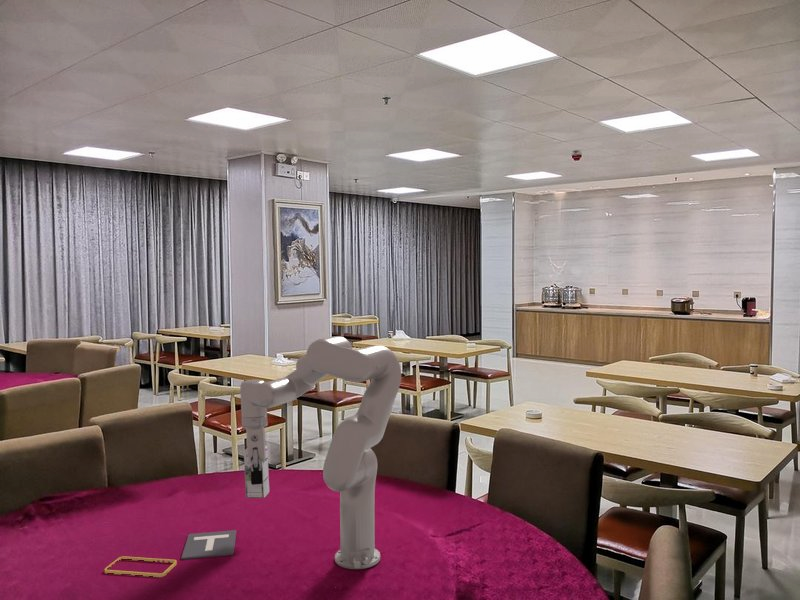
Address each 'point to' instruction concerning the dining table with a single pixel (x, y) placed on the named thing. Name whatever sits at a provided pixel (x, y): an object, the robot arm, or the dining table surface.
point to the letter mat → (209, 544)
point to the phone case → (142, 572)
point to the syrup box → (263, 488)
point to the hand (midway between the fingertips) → (257, 479)
